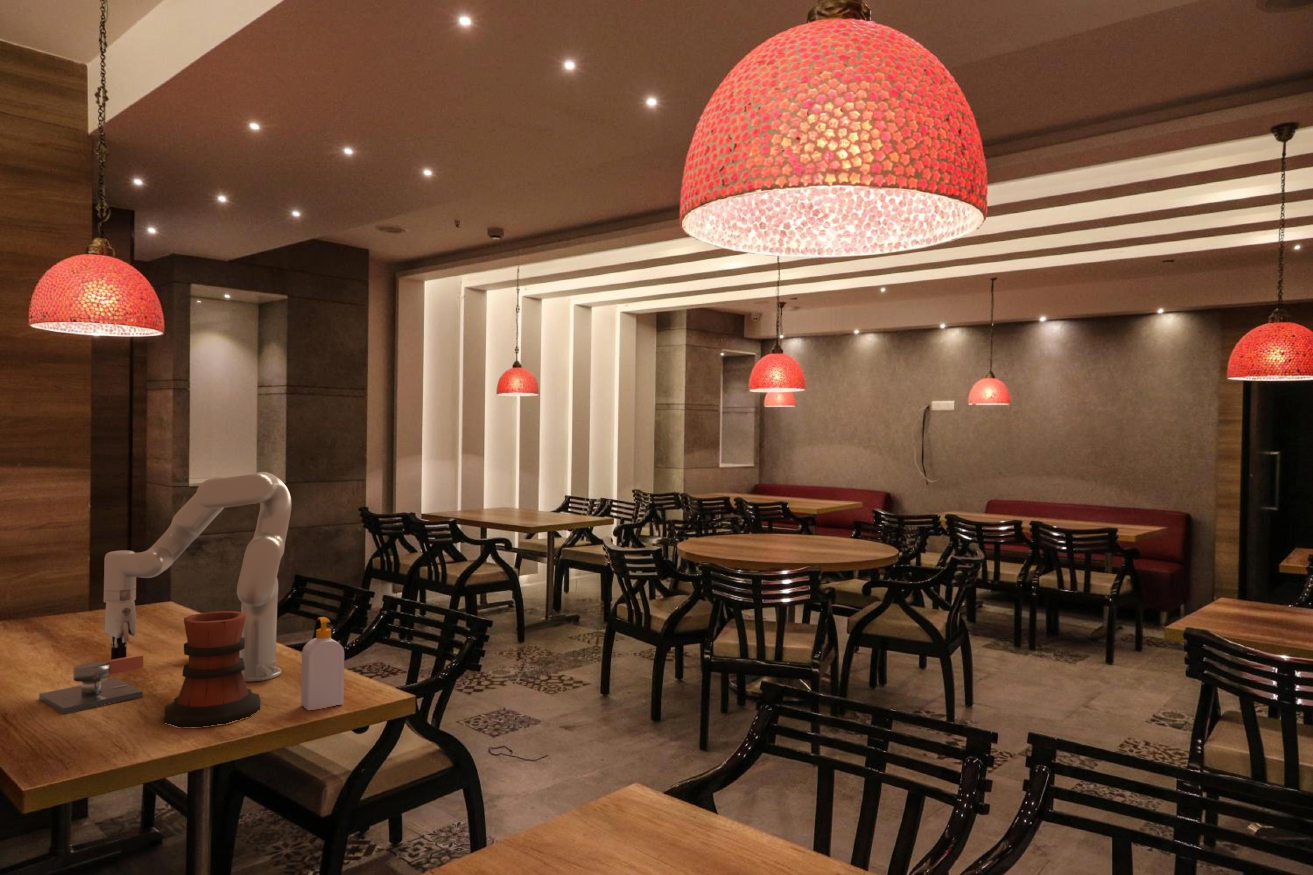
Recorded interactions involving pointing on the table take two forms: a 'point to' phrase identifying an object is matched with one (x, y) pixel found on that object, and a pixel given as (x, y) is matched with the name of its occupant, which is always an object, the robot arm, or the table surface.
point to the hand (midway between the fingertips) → (118, 660)
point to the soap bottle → (322, 670)
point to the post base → (90, 695)
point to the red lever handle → (106, 668)
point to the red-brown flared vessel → (213, 673)
